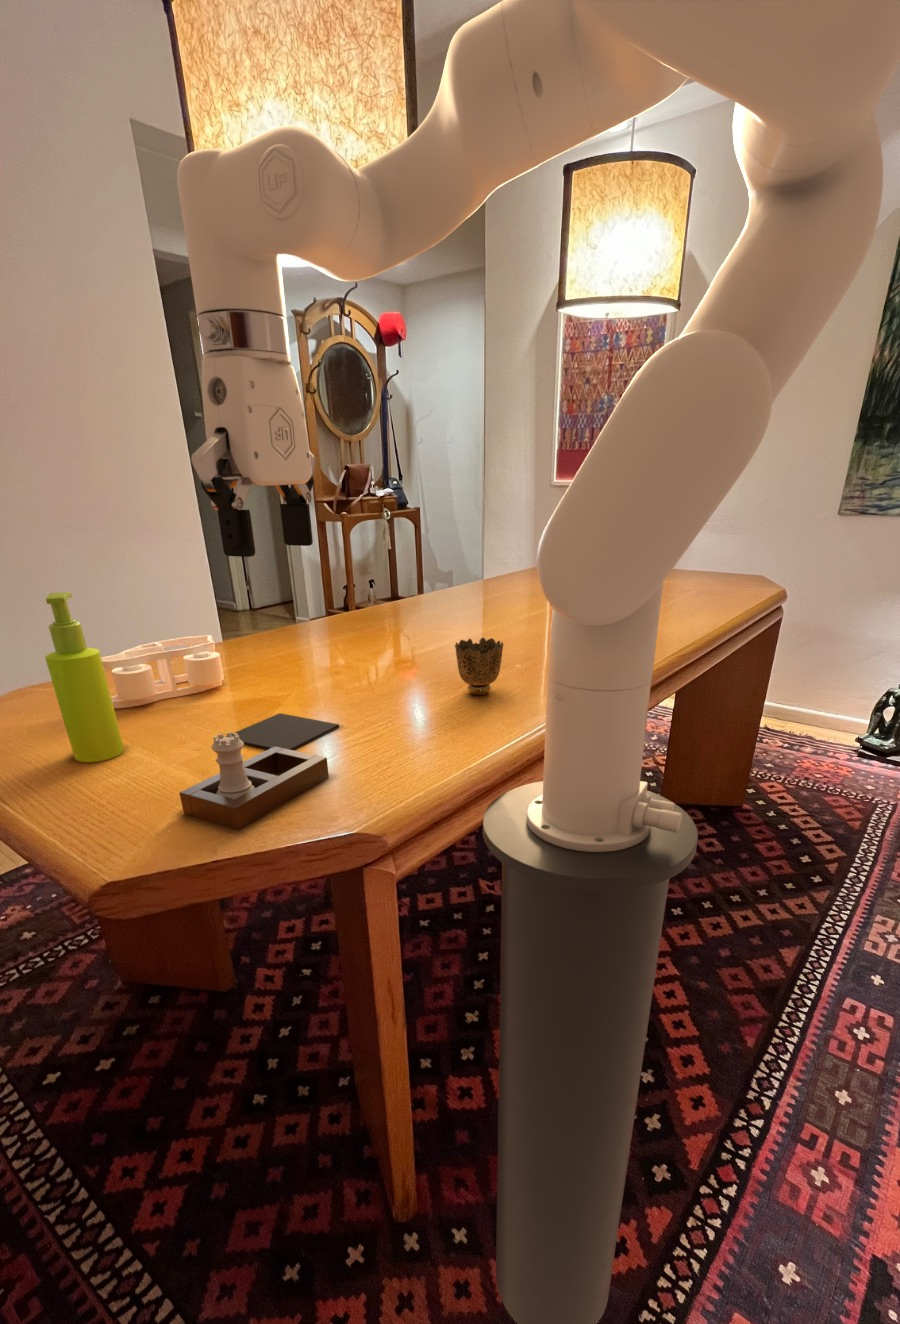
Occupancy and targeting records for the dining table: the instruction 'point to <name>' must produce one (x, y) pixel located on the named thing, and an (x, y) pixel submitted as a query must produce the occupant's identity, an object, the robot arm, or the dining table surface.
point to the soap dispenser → (81, 688)
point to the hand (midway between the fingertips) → (271, 550)
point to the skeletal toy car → (163, 671)
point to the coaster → (284, 732)
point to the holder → (256, 787)
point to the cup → (479, 663)
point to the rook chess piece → (231, 766)
